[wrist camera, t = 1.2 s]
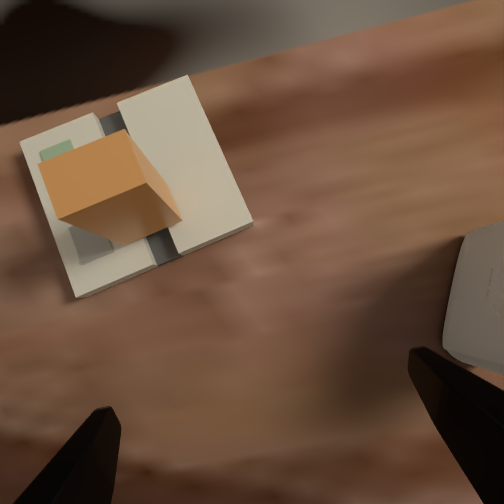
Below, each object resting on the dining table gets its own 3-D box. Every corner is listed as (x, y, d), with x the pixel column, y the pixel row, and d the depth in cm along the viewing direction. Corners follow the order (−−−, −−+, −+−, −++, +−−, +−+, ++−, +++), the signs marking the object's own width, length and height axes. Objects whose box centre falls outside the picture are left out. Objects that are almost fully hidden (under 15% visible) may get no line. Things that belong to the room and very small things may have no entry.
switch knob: (186, 224, 24) (146, 182, 15) (131, 247, 24) (57, 219, 15) (171, 189, 25) (124, 128, 16) (117, 212, 25) (37, 164, 15)
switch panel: (253, 225, 25) (253, 220, 24) (86, 297, 24) (74, 297, 23) (191, 86, 27) (186, 73, 25) (32, 150, 26) (17, 140, 24)
